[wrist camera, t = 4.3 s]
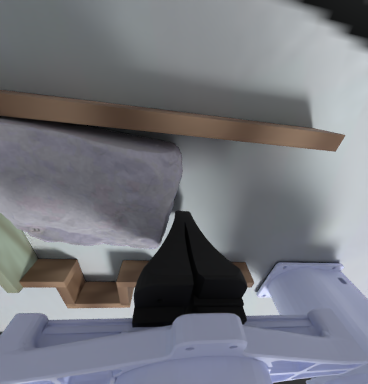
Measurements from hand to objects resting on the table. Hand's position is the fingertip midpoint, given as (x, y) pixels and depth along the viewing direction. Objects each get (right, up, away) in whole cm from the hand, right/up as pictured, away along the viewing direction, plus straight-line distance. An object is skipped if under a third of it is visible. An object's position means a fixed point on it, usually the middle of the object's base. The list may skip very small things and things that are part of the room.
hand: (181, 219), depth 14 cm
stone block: (-6, +3, -1) cm, 7 cm away
